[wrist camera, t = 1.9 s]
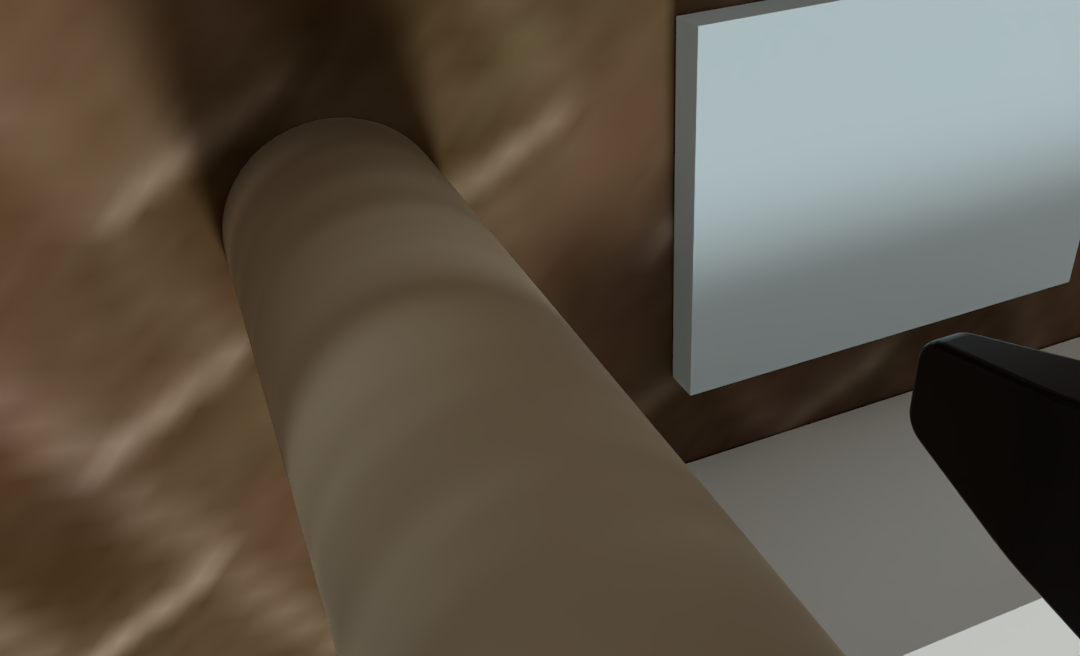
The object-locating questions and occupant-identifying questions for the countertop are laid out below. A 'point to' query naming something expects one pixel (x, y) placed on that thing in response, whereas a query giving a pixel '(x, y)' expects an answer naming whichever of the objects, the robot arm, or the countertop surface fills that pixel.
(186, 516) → the countertop surface
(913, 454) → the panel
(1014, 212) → the pad
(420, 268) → the dowel
